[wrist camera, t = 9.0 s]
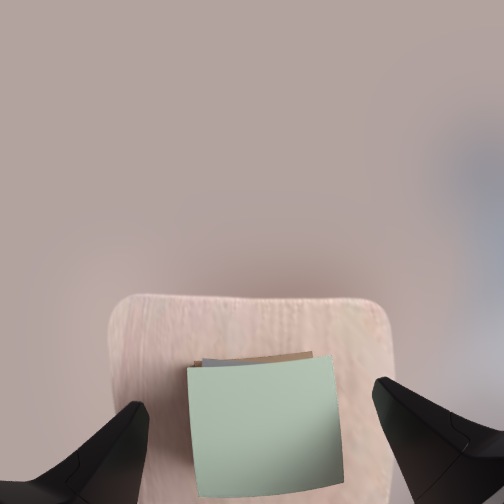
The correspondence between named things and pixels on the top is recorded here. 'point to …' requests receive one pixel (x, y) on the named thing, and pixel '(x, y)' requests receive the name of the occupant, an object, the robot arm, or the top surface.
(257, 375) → the sage green block
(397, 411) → the robot arm
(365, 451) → the top surface
